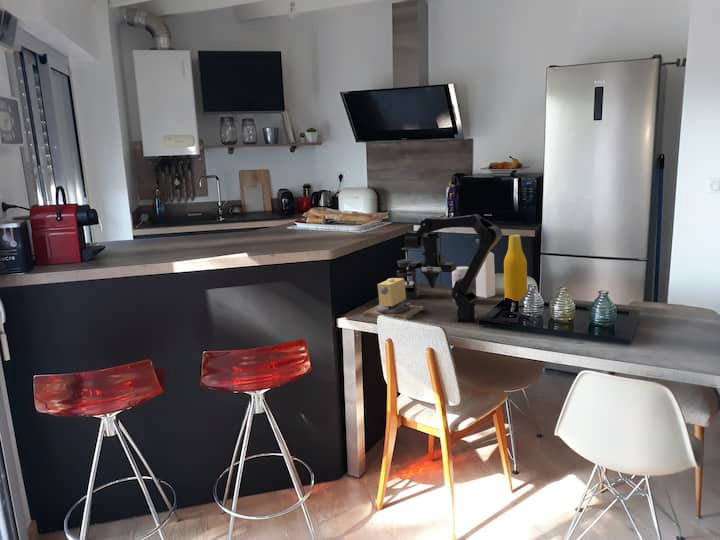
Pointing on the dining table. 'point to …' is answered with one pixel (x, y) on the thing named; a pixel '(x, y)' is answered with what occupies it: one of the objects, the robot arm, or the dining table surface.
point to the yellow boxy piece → (391, 291)
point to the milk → (486, 278)
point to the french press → (399, 274)
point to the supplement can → (458, 274)
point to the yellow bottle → (515, 270)
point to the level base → (401, 315)
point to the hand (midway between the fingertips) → (432, 287)
